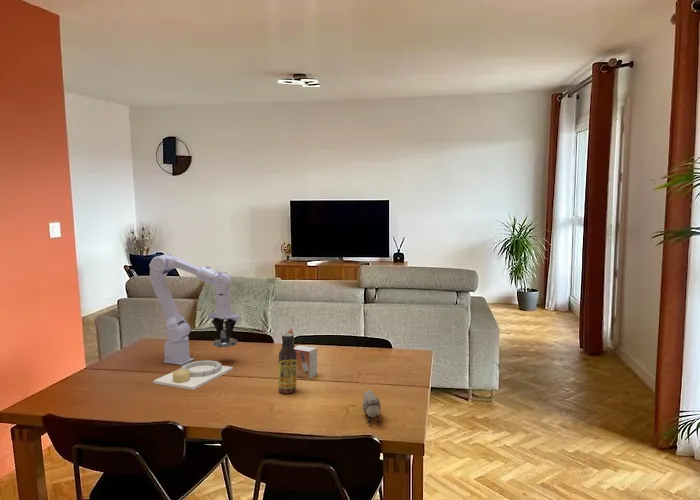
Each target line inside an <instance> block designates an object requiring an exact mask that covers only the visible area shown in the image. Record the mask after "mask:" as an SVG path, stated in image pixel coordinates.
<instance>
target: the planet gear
mask: <svg viewBox="0 0 700 500" xmlns="http://www.w3.org/2000/svg"><path fill="white" fill-rule="evenodd" d="M237 344H238V339H235V338H233V337H230V338H227V334H226V327H225V328H224V327H223V329H220V337H219V339H215V340H214V341H213V342H212V346H213V347H216V348H229V347H233V346H234V347H235V346H237Z"/></svg>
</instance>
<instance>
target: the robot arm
mask: <svg viewBox="0 0 700 500" xmlns="http://www.w3.org/2000/svg"><path fill="white" fill-rule="evenodd" d="M148 266H149V282H150V284H151V287H152V289H153V291H154V294H155V296H156V298H157V301H158V303H159V305H160V307H161V310H162V312H163V314H164V316H165V320H166V323H165V328H166V335H167V338H168V339H167V340H166V341H165V342H164V346H163V350H164V351H163V352H164V354H163V355H164V360H163V361H162V362H163V363H165V364H172V365H180V366H183V365H185V364H188V363H190V362H193V361H194V360H195V358H194V357H190V342H189V340H190V338H189V334H190V333H191V330H192V329H191V325H190V324H189V322H188V321H186V319H185V317H184V316H182V315H181V314H180V312H179V310H178V307H177V305H176V302H175V300H174V298H173V296H172V293H171V290H170V288H169V286H168V284H167V282H166V277H167V275H168V273H169V272H170V271H171V270H173V269H179V270H182V271H185V272H188V273H189V274H192V275H195V276H196V278H197V279H198V281H202V282H204V283H207V284H209V285H212V286H213V287H214V288H215V302H216V304H215V305H216V306H215V307H216V312H209V313H207V319H212V320H211V323H212V325H213V326H214V328H215V330H216V334H217V336H218V338H220V329H224V327H225V328H226V334H227V338H233V337H232V335H233V331H234V328H235V325H236V323H237V322H240V321H241V320H242V317H241V315H239V314H234V313H232V298H231V297H232V295H231V293H232V291H231V284H232V282H233V278H232V276H231V275H230V274H229V273H227V272H222V271H221V270H215V269H212V268H211V266H210V265H203V266H201V267H200V266H198V265H195V264H194V263H191V262H189V261H187V260H185V259H183V258H181V257H179V256H177V255H173V254H171V253H164V254H161V255H157V256H153V258H152V259H151V261H150V263H149V265H148Z"/></svg>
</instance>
